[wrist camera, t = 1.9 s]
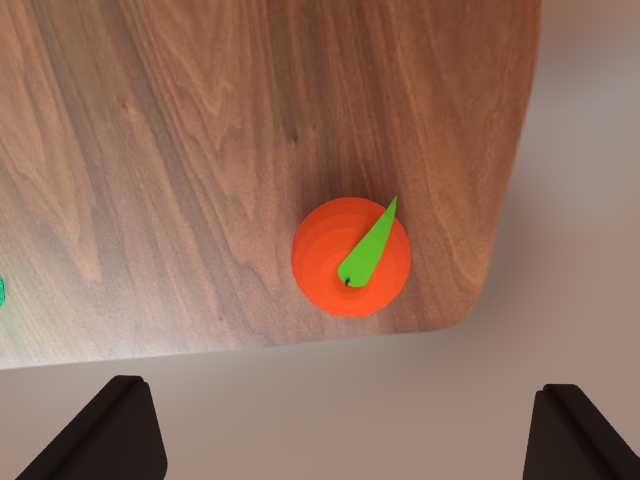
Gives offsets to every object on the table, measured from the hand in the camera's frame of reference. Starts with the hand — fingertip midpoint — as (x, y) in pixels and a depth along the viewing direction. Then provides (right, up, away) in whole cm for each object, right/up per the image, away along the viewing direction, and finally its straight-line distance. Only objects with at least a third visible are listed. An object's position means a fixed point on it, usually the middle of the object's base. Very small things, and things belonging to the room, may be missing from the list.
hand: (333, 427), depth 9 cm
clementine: (+2, +5, +15) cm, 16 cm away
